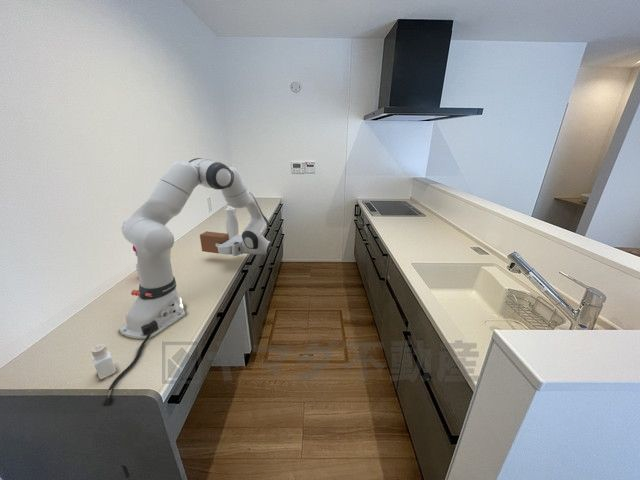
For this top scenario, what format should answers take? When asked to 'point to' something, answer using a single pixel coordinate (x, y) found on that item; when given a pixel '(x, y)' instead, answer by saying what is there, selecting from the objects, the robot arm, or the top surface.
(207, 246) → the reddish brown block
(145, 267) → the robot arm
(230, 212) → the white baluster column
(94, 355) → the pepper shaker
